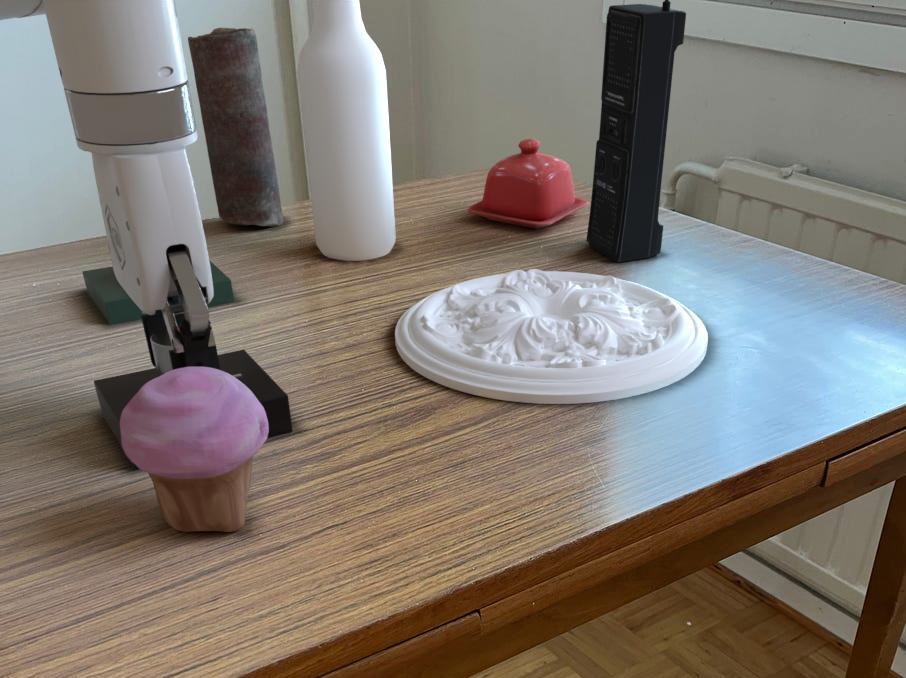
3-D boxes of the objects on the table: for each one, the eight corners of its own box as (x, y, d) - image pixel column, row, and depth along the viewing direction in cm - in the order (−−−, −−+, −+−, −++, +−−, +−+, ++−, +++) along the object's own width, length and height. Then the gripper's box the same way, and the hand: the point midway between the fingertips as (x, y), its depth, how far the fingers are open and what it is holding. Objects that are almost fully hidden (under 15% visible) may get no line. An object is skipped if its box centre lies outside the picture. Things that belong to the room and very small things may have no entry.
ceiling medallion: (508, 266, 104) (508, 235, 102) (757, 321, 91) (763, 287, 89) (330, 352, 86) (326, 316, 84) (608, 435, 73) (611, 396, 71)
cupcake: (129, 554, 61) (88, 406, 55) (163, 484, 68) (130, 346, 62) (270, 553, 61) (245, 405, 55) (290, 484, 68) (270, 345, 62)
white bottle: (335, 267, 104) (301, -84, 85) (304, 245, 110) (266, -87, 91) (409, 254, 107) (392, -87, 88) (376, 233, 113) (353, -90, 94)
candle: (239, 238, 112) (207, 34, 99) (207, 224, 116) (173, 27, 104) (295, 225, 116) (271, 27, 103) (262, 212, 120) (236, 20, 108)
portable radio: (578, 243, 110) (593, -25, 94) (625, 236, 112) (647, -28, 96) (613, 264, 104) (635, -18, 88) (662, 256, 106) (691, -21, 90)
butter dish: (545, 236, 112) (548, 155, 106) (462, 221, 117) (460, 143, 111) (592, 212, 119) (597, 135, 114) (512, 198, 124) (513, 124, 119)
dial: (223, 390, 73) (213, 334, 70) (170, 403, 71) (158, 346, 69) (206, 371, 76) (195, 317, 73) (155, 383, 74) (142, 327, 71)
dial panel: (134, 470, 70) (124, 430, 68) (102, 416, 77) (92, 378, 75) (293, 432, 74) (287, 392, 72) (249, 384, 81) (243, 347, 79)
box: (110, 325, 91) (100, 282, 89) (87, 293, 98) (77, 252, 96) (234, 302, 96) (227, 260, 94) (204, 273, 103) (197, 233, 100)
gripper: (46, 99, 67) (110, 352, 78) (104, 151, 55) (169, 440, 66) (156, 89, 69) (202, 333, 81) (233, 136, 58) (275, 415, 69)
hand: (187, 379), depth 73 cm, fingers open, 6 cm apart
